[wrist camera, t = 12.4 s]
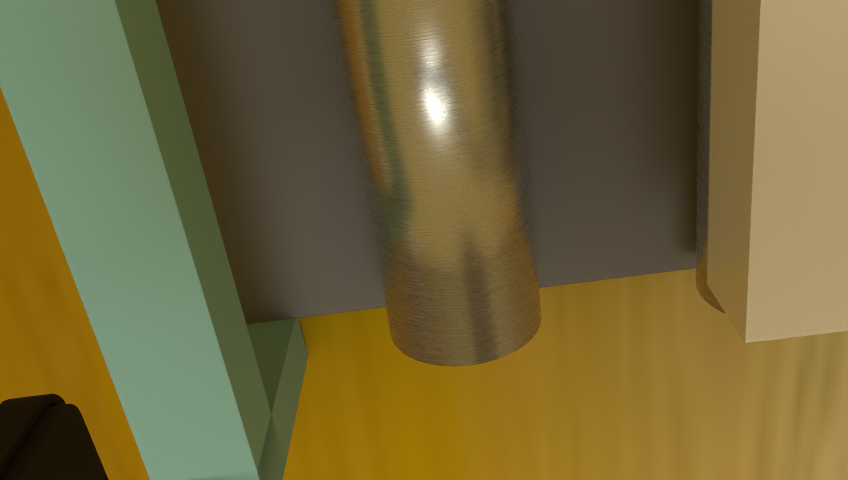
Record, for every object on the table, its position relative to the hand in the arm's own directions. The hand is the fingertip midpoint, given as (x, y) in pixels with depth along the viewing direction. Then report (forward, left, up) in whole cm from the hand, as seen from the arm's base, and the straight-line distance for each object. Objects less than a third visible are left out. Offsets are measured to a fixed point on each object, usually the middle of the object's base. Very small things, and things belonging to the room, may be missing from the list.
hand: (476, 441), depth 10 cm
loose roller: (0, 0, -18) cm, 18 cm away
